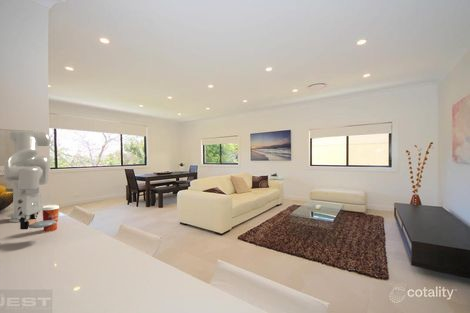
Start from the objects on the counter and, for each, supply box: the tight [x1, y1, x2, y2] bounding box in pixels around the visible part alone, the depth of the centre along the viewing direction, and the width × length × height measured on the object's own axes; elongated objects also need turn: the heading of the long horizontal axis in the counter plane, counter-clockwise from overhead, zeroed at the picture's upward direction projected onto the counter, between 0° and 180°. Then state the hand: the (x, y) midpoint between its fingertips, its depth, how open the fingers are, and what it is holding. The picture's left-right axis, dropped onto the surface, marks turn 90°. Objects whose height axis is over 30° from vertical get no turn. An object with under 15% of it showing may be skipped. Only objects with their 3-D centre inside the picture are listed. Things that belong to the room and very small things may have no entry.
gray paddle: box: [27, 218, 55, 229], centre depth 105 cm, size 14×10×2 cm
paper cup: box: [41, 204, 60, 233], centre depth 120 cm, size 8×8×14 cm
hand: (28, 227), depth 105 cm, fingers closed on gray paddle, 3 cm apart
